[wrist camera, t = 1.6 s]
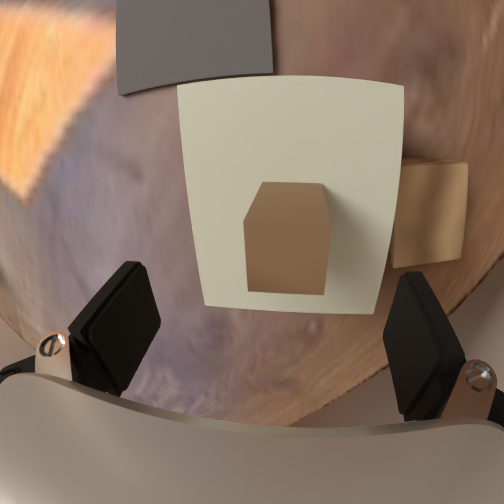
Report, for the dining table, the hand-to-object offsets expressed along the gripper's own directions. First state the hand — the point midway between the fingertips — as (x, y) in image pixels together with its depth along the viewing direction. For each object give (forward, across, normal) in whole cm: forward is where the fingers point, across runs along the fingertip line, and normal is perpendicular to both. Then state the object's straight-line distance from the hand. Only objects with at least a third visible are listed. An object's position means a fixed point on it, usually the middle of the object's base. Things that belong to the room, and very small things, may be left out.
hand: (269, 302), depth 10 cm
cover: (+22, -1, 0) cm, 22 cm away
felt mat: (+22, +10, -20) cm, 32 cm away
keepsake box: (+22, -15, +3) cm, 27 cm away
